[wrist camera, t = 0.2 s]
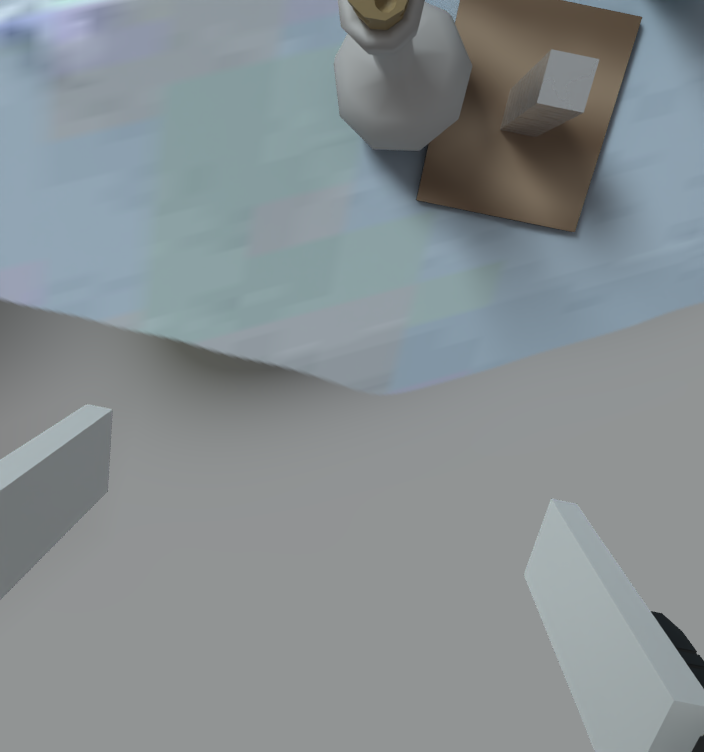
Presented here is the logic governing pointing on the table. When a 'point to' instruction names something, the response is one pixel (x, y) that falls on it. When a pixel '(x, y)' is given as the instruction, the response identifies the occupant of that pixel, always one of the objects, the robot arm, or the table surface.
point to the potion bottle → (399, 72)
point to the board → (488, 102)
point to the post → (549, 93)
